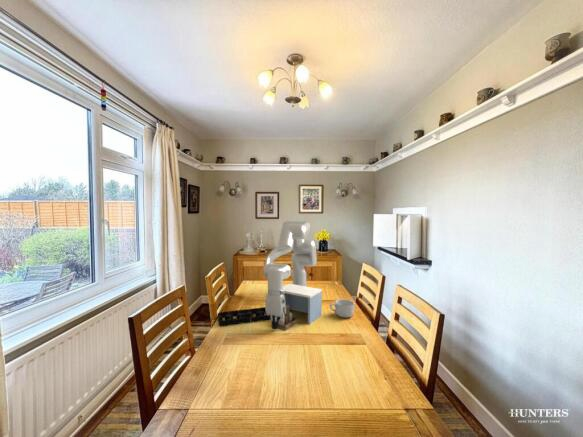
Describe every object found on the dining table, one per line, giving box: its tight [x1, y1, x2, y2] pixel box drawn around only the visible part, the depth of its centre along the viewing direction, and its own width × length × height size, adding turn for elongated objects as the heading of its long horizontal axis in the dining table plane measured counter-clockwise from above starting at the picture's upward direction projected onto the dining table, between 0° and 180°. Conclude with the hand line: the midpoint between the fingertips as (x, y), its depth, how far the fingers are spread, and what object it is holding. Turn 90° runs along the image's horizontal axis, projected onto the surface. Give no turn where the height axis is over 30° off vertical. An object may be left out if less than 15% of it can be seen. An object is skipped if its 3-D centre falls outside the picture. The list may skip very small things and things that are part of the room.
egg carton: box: [217, 306, 271, 327], centre depth 147 cm, size 18×30×4 cm, turn 120°
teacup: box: [329, 298, 355, 319], centre depth 152 cm, size 14×11×8 cm
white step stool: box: [283, 283, 323, 325], centre depth 152 cm, size 14×22×15 cm, turn 58°
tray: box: [277, 305, 299, 331], centre depth 140 cm, size 12×9×10 cm
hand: (275, 328), depth 132 cm, fingers closed
